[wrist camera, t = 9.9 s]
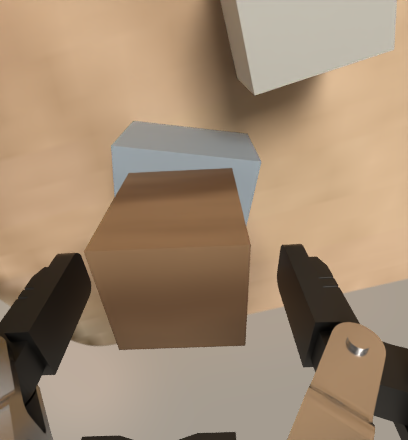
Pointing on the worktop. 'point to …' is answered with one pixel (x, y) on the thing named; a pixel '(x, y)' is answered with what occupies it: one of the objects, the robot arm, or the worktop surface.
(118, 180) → the base block
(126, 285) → the walnut block
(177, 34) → the worktop surface
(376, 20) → the grey block
